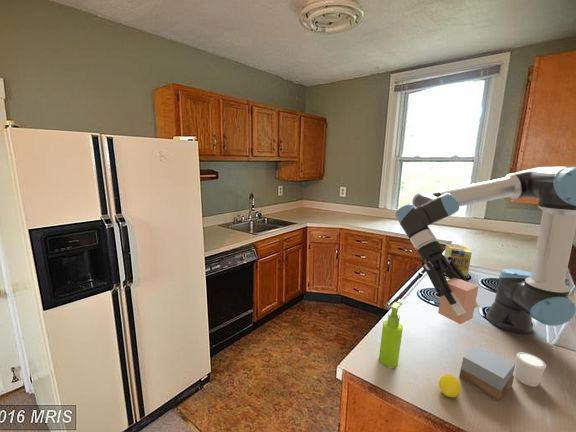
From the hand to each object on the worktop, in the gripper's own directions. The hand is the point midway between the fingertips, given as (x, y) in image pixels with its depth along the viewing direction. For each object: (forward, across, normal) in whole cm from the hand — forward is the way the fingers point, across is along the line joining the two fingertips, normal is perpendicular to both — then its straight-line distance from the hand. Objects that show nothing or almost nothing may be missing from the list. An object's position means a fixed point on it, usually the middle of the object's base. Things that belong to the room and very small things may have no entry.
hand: (468, 310), depth 84 cm
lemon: (+17, +13, -12) cm, 24 cm away
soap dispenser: (+5, +17, -24) cm, 30 cm away
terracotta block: (0, 0, -5) cm, 5 cm away
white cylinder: (+24, -14, -5) cm, 28 cm away
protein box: (-17, -83, -47) cm, 97 cm away
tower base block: (+20, -1, -10) cm, 22 cm away
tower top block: (+17, -1, -7) cm, 18 cm away
